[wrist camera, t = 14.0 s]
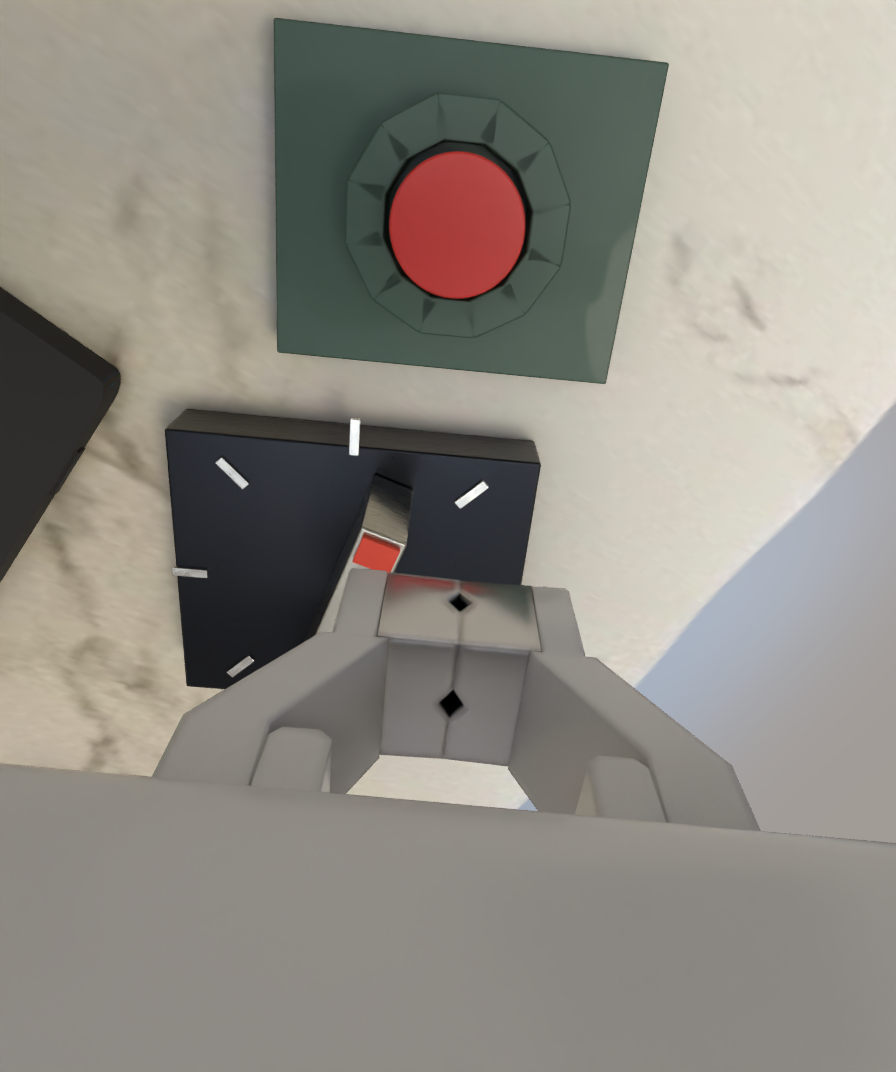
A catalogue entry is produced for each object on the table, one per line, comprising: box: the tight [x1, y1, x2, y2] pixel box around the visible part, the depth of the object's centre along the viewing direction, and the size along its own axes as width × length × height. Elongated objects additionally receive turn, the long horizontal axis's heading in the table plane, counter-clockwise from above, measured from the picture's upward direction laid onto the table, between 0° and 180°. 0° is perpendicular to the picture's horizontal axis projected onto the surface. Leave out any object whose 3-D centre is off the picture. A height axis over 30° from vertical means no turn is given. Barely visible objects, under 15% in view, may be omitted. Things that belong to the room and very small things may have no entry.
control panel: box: [165, 409, 541, 689], centre depth 31 cm, size 14×14×3 cm
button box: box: [274, 18, 669, 384], centre depth 24 cm, size 12×10×4 cm
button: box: [389, 151, 525, 299], centre depth 22 cm, size 4×4×2 cm
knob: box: [304, 475, 413, 642], centre depth 28 cm, size 10×2×5 cm, turn 156°
